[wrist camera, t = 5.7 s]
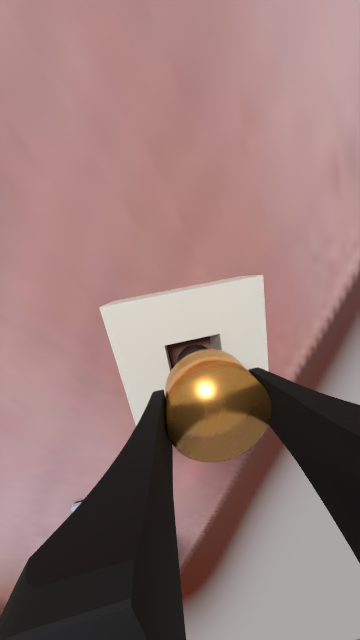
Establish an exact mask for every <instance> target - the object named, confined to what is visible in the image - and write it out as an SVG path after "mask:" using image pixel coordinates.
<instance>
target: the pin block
mask: <svg viewBox="0 0 360 640" xmlns="http://www.w3.org/2000/svg"><path fill="white" fill-rule="evenodd" d="M99 308H100V311H101V314H102V317H103V321H104V324H105V327H106V330H107V334H108V337H109V340H110V343H111V346H112V350H113V353H114V356H115V359H116V363H117V366H118V369H119V372H120V375H121V379H122V382H123V385H124V388H125V392H126V395H127V398H128V401H129V404H130V408H131V411H132V414H133V417H134V421H135V424H136V426H137V424H138V422H139V420H140V418H141V416H142V415H143V413H144V411H145V408H146V406H147V404H148V402H149V400H150V397H151V395H152V393H153V392H154V391H158V390H163V389H164V393H165V386H166V381H167V378H168V375H169V373H170V372H171V370H172V367H171V363H170V358H169V354H168V349H167V345H170V344H175V343H179V342H184V341H188V340H193V339H198V338H202V337H207V336H210V342H211V348H212V349H217V350H221V351H224V352H227V353H229V354H231V355H232V356H234V357H235V358H236V359H237V360H238V361H239V362H240V363H241V364H242V365H243V366H244V367H245V368H246V369H247V370H248V369H253V368H257V367H258V368H261V369H264V370H266V371H268V354H267V336H266V319H265V301H264V284H263V275H255V276H239V277H234V278H229V279H224V280H219V281H214V282H209V283H203V284H198V285H193V286H188V287H183V288H178V289H173V290H168V291H162V292H157V293H152V294H147V295H142V296H137V297H132V298H127V299H122V300H116V301H112V302H110V303H108V304H106V305H103V306H101V307H99ZM248 371H249V370H248ZM268 372H269V371H268Z"/></svg>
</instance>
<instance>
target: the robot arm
mask: <svg viewBox="0 0 360 640" xmlns="http://www.w3.org/2000/svg"><path fill="white" fill-rule="evenodd" d="M248 370H249V372H250V373H251V374H252V375H253V376H254V377H255V378H256V379H257V380H258V381H259V382H260V383H261V384H262V385H263V387H264V388H265V389H266V391H267V393H268V395H269V398H270V401H271V418H270V421H269V425H270V427H271V428H272V429H273V430H274V432H275V433H276V434H277V436H278V437H279V438H280V440H281V441H282V442H283V444H284V445H285V446H286V447H287V449H288V450H289V451H290V453H291V454H292V456H293V457H294V458H295V460H296V461H297V463H298V464H299V466H300V467H301V468H302V470H303V472H304V473H305V475H306V476H307V478H308V479H309V481H310V482H311V484H312V485H313V487H314V489H315V490H316V492H317V493H318V495H319V497H320V498H321V500H322V501H323V503H324V505H325V506H326V508H327V509H328V511H329V513H330V514H331V516H332V517H333V519H334V521H335V522H336V524H337V526H338V527H339V529H340V531H341V532H342V534H343V536H344V537H345V539H346V541H347V542H348V544H349V546H350V547H351V549H352V551H353V552H354V554H355V556H356V558H357V559H358V561H359V563H360V405H357V404H354V403H350V402H347V401H344V400H340V399H338V398H334V397H331V396H328V395H325V394H322V393H319V392H317V391H314V390H311V389H309V388H306V387H303V386H301V385H298V384H296V383H294V382H291V381H289V380H287V379H284V378H282V377H280V376H277V375H275V374H273V373H271V372H268V371H266V370H264V369H261V368H258V367H257V368H253V369H248ZM71 512H72V514H71V515H70V516H69V517H68V518H67V519H66V520H65V522H64V523H63V524H62V525H61V526H60V527H59V528H58V529H57V530H56V531H55V532H54V533H53V534H52V535H51V536H50V537H49V538H48V539H47V540H46V542H45V543H44V544H43V545H42V546H41V547H40V548H39V549H38V550H37V551H36V552H35V553H34V554H33V555H32V556H31V557H30V558H29V560H28V561H27V563H26V565H25V567H24V569H23V571H22V573H21V575H20V577H19V579H18V581H17V583H16V585H15V587H14V589H13V591H12V593H11V595H10V598H9V600H8V602H7V604H6V606H5V608H4V610H3V613H2V615H1V617H0V640H186V636H185V635H186V634H185V624H184V614H183V604H182V593H181V582H180V571H179V560H178V549H177V537H176V526H175V513H174V501H173V460H172V442H171V440H170V438H169V435H168V431H167V419H166V397H165V393H164V389H163V390H158V391H154V392H153V393H152V395H151V397H150V400H149V402H148V404H147V406H146V408H145V411H144V413H143V415H142V416H141V418H140V420H139V422H138V424H137V426H136V428H135V429H134V431H133V433H132V435H131V436H130V438H129V440H128V441H127V443H126V445H125V446H124V448H123V449H122V451H121V452H120V454H119V455H118V457H117V458H116V459H115V461H114V462H113V464H112V465H111V466H110V468H109V469H108V470H107V472H106V473H105V474H104V476H103V477H102V478H101V480H100V481H99V482H98V483H97V485H96V486H95V487H94V488H93V489H92V491H91V492H90V493H89V494H88V495H87V497H86V498H85V499H84V500H83V501H82V502H79V503H75V504H73V506H72V508H71ZM357 640H360V639H357Z"/></svg>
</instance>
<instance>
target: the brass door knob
mask: <svg viewBox="0 0 360 640" xmlns="http://www.w3.org/2000/svg"><path fill="white" fill-rule="evenodd" d="M165 397H166V419H167V431H168V435H169V438H170V440H171V442H172V444H173V445H174V447H175V448H176V449H177V450H178V451H179V452H180V453H182V454H183V455H185V456H186V457H188V458H190V459H193V460H196V461H201V462H219V461H225V460H228V459H231V458H234V457H236V456H239V455H241V454H242V453H244V452H246V451H247V450H248V449H250V448H251V447H252V446H253V445H255V444H256V443H257V442H258V440H259V439H260V438H261V437H262V435H263V434H264V432H265V431H266V429H267V427H268V424H269V421H270V418H271V401H270V398H269V395H268V393H267V391H266V389H265V388H264V387H263V385H262V384H261V383H260V382H259V381H258V380H257V379H256V378H255V377H254V376H253V375H252V374H251V373H250V372H249V371H248V370H247V369H246V368H245V367H244V366H243V365H242V364H241V363H240V362H239V361H238V360H237V359H236V358H235V357H234V356H232V355H231V354H229V353H227V352H224V351H221V350H217V349H208V348H206V347H205V346H202V345H197V344H196V345H190V346H188V347H186V348H185V349H183V350H182V351H181V353H180V354H179V356H178V360H177V364H176V365H175V366H174V367H173V368H172V370H171V372H170V373H169V375H168V378H167V381H166V386H165Z"/></svg>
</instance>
